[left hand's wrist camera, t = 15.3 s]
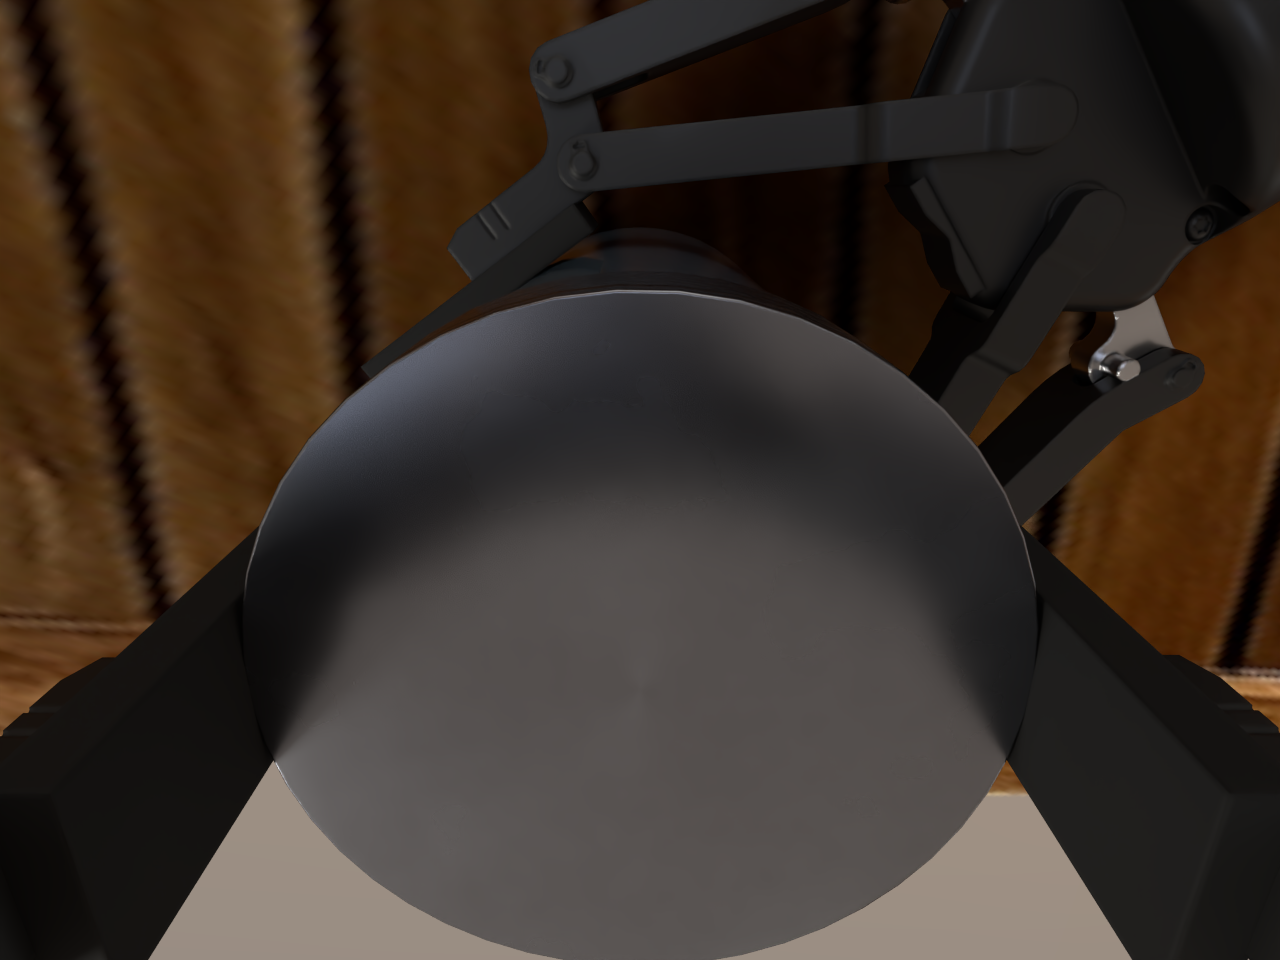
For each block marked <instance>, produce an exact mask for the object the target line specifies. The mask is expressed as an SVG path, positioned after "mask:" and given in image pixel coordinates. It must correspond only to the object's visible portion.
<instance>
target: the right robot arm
mask: <svg viewBox="0 0 1280 960" xmlns="http://www.w3.org/2000/svg"><path fill="white" fill-rule="evenodd" d="M848 1H850V0H649V1H647V2H644V3H642V4H639V5H637V6H634V7H632V8H629V9H627V10H624V11H622V12H619V13H617V14H614V15H612V16H609V17H607V18H604V19H602V20H599V21H597V22H594V23H592V24H589V25H587V26H584V27H582V28H579V29H577V30H574V31H572V32H569V33H567V34H564V35H562V36H559V37H557V38H554V39H552V40H549V41H547V42H545V43H544V44H542V45H541V46H540V47H538V48H537V50H536V51H535V53H534V54H533V56H532V57H531V62H530V68H529V72H530V78H531V82H532V84H533V86H534V88H535V89H536V93H537V96H538V100H539V103H540V107H541V110H542V113H543V117H544V120H545V124H546V128H547V134H548V142H547V148H546V151H545V154H544V156H543V158H542V159H541V161H540V162H539V163H538V164H537V165H536V166H535V167H534V168H533V169H532V170H531V171H529V172H528V173H527V174H526V175H524V176H523V177H522V178H520V179H519V180H518V181H517V182H515V183H514V184H513V185H512V186H510V187H509V188H508V189H507V190H505V191H504V192H503V193H502V194H500V195H499V196H498V197H496V198H495V199H494V200H493V201H491V202H490V203H489V204H488V205H486V206H485V207H484V208H483V209H481V210H480V211H479V212H478V213H477V214H475V215H474V216H472V217H471V218H470V219H469V220H467V221H466V222H465V223H464V224H462V225H461V226H460V227H459V228H457V230H456V232H455V234H454V236H453V238H452V239H451V241H450V243H449V245H448V247H447V249H448V251H449V252H450V253H451V255H452V256H453V257H454V258H455V260H456V261H457V262H458V264H459V265H460V266H461V268H462V269H463V270H464V271H465V273H466V274H467V275H468V277H469V278H470V279H471V281H472V282H471V283H469V284H468V285H467V286H465V287H464V288H463V289H462V290H460V291H459V292H458V293H456V294H455V295H454V296H452V297H451V298H450V299H449V300H447V301H446V302H445V303H443V304H442V305H441V306H439V307H438V308H437V309H436V310H434V311H433V312H432V313H430V314H429V315H428V316H426V317H425V318H424V319H423V320H421V321H420V322H419V323H417V324H416V325H415V326H414V327H412V328H411V329H410V330H408V331H407V332H406V333H404V334H403V335H402V336H401V337H399V338H398V339H397V340H395V341H394V342H393V343H391V344H390V345H389V346H388V347H386V348H385V349H384V350H382V351H381V352H380V353H378V354H377V355H376V356H375V357H373V358H372V359H371V360H369V361H368V362H367V363H365V364H364V365H363V366H362V367H361V368H362V369H363V370H364V371H365V372H366V374H367V375H368V376H369V377H370V378H372V377H373V376H374V375H376V374H377V373H378V372H379V371H381V370H382V369H383V368H384V367H386V366H387V365H388V364H389V363H391V362H392V361H393V360H395V359H396V358H398V357H399V356H400V355H401V354H403V353H404V352H405V351H407V350H408V349H409V348H411V347H412V346H413V345H415V344H416V343H417V342H419V341H420V340H421V339H423V338H424V337H425V336H427V335H428V334H430V333H431V332H433V331H435V330H436V329H438V328H440V327H442V326H443V325H445V324H447V323H448V322H450V321H452V320H454V319H455V318H457V317H459V316H460V315H462V314H464V313H465V312H467V311H469V310H471V309H473V308H475V307H478V306H480V305H483V304H485V303H487V302H490V301H492V300H495V299H497V298H499V297H502V296H504V295H507V294H509V293H512V292H514V291H515V290H517V289H518V288H519V287H521V286H522V285H523V284H525V283H526V282H527V281H529V280H530V279H531V278H533V277H534V276H535V275H536V274H538V273H539V272H540V271H542V270H543V269H544V268H546V267H547V266H548V265H550V264H551V263H552V262H554V261H555V260H556V259H558V258H559V257H560V256H562V255H563V254H564V253H566V252H567V251H568V250H570V249H571V248H572V247H574V246H575V245H576V244H578V243H579V242H580V241H582V240H583V239H584V238H585V237H587V236H588V235H589V234H591V233H592V232H593V231H594V230H595V229H596V228H597V226H598V223H597V222H596V220H595V219H594V217H593V216H592V215H591V213H590V212H589V210H588V209H587V207H586V206H585V204H584V203H583V202H582V201H583V200H584V199H586V198H587V197H588V196H590V195H591V194H592V193H593V192H595V191H601V190H611V189H621V188H631V187H640V186H650V185H660V184H670V183H680V182H690V181H700V180H709V179H719V178H729V177H739V176H749V175H759V174H769V173H778V172H788V171H798V170H808V169H818V168H828V167H837V166H847V165H857V164H868V163H879V162H888V174H889V180H890V182H889V183H887V184H886V185H884V186H885V188H886V190H887V192H888V193H889V195H890V197H891V199H892V201H893V202H894V204H895V206H896V208H897V210H898V211H899V212H900V213H901V214H902V215H903V216H904V217H905V218H906V219H907V220H908V221H909V222H910V223H911V224H912V225H913V226H914V227H915V228H916V229H917V230H918V231H919V232H920V234H921V237H922V242H923V246H924V250H925V255H926V259H927V263H928V265H929V267H930V269H931V270H932V272H933V274H934V276H935V278H936V279H937V281H938V283H939V285H940V287H942V288H944V289H947V290H950V291H951V292H950V294H949V295H948V297H947V299H946V300H945V302H944V304H943V305H942V307H941V309H940V311H939V312H938V314H937V316H936V318H935V320H934V322H933V326H932V336H931V339H930V341H929V343H928V345H927V346H926V348H925V350H924V352H923V353H922V355H921V357H920V358H919V360H918V362H917V363H916V365H915V367H914V368H913V370H912V372H911V373H910V375H909V378H910V379H911V380H913V381H914V382H915V383H916V384H917V385H918V386H919V387H921V388H922V389H923V390H924V391H925V392H926V393H928V394H929V395H930V396H931V397H932V398H933V399H935V400H936V401H937V402H938V403H939V404H940V405H941V406H943V407H944V408H945V409H946V410H947V412H948V413H949V414H950V415H951V416H952V417H953V419H954V420H955V421H956V422H957V423H958V425H959V426H960V427H961V428H962V429H963V430H964V432H965V433H966V434H967V435H968V436H969V435H970V433H971V432H972V430H973V429H974V427H975V426H976V424H977V423H978V421H979V419H980V418H981V416H982V415H983V413H984V412H985V410H986V409H987V407H988V405H989V404H990V402H991V401H992V399H993V398H994V396H995V395H996V393H997V391H998V390H999V388H1000V387H1001V385H1002V384H1003V382H1004V381H1005V380H1006V378H1007V377H1009V376H1010V375H1012V374H1014V373H1016V372H1019V371H1020V370H1021V369H1022V368H1024V367H1025V366H1026V364H1027V363H1028V362H1029V361H1030V359H1031V358H1032V356H1033V355H1034V353H1035V352H1036V350H1037V349H1038V347H1039V345H1040V344H1041V342H1042V341H1043V339H1044V338H1045V336H1046V335H1047V333H1048V332H1049V330H1050V328H1051V327H1052V325H1053V324H1054V322H1055V321H1056V319H1057V318H1058V316H1059V315H1060V313H1061V312H1062V311H1076V312H1096V322H1095V325H1094V327H1093V329H1092V331H1091V332H1090V333H1089V335H1088V336H1086V337H1085V338H1084V339H1083V340H1082V341H1078V342H1076V343H1074V344H1073V345H1072V346H1071V348H1070V350H1069V357H1070V358H1071V363H1070V364H1068V365H1067V366H1065V367H1064V368H1062V369H1060V370H1059V371H1057V372H1056V373H1055V374H1053V375H1052V376H1051V377H1049V378H1048V379H1047V380H1045V381H1044V382H1043V383H1042V384H1041V385H1040V386H1039V387H1038V388H1036V389H1035V390H1034V391H1033V392H1032V393H1031V394H1030V395H1029V396H1028V397H1027V398H1026V399H1025V400H1024V401H1023V402H1022V403H1021V404H1020V405H1019V406H1018V407H1017V408H1016V409H1015V410H1014V411H1013V412H1012V413H1011V414H1010V415H1009V416H1008V417H1007V418H1006V419H1005V420H1004V421H1003V422H1002V423H1001V424H1000V425H999V426H998V427H997V428H996V429H995V430H994V431H993V432H992V433H991V434H990V435H989V436H988V437H987V438H986V439H985V440H984V441H983V442H982V443H981V444H980V445H979V446H978V448H979V449H980V451H981V453H982V454H983V456H984V457H985V459H986V461H987V462H988V464H989V466H990V467H991V469H992V470H993V472H994V474H995V475H996V477H997V479H998V480H999V482H1000V483H1001V485H1002V487H1003V488H1004V490H1005V492H1006V494H1007V496H1008V499H1009V501H1010V504H1011V506H1012V508H1013V511H1014V513H1015V516H1016V518H1017V520H1018V523H1019V524H1020V525H1021V526H1022V525H1023V524H1024V523H1025V522H1026V521H1027V520H1028V519H1029V518H1030V517H1031V516H1033V515H1034V514H1035V513H1036V512H1037V511H1038V510H1039V509H1040V508H1041V507H1042V506H1043V505H1044V504H1045V503H1046V502H1047V501H1048V500H1050V499H1051V498H1052V497H1053V496H1054V495H1055V494H1056V493H1057V492H1058V491H1059V490H1060V489H1061V488H1062V487H1063V486H1064V485H1066V484H1067V483H1068V482H1069V481H1070V480H1071V479H1072V478H1073V477H1074V476H1075V475H1076V474H1077V473H1078V472H1079V471H1080V470H1081V469H1083V468H1084V467H1085V466H1086V465H1087V464H1088V463H1089V462H1090V461H1091V460H1092V459H1093V458H1094V457H1095V456H1096V455H1097V454H1099V453H1100V452H1101V451H1102V450H1103V449H1104V448H1105V447H1106V446H1107V445H1108V444H1109V443H1110V442H1111V441H1112V440H1113V439H1114V438H1116V437H1117V436H1118V435H1119V434H1120V433H1121V432H1122V431H1123V430H1125V429H1127V428H1129V427H1131V426H1133V425H1135V424H1137V423H1139V422H1141V421H1143V420H1145V419H1147V418H1148V417H1150V416H1152V415H1154V414H1156V413H1158V412H1160V411H1162V410H1164V409H1166V408H1168V407H1170V406H1172V405H1174V404H1176V403H1177V402H1179V401H1181V400H1183V399H1185V398H1187V397H1189V396H1190V395H1191V394H1193V393H1194V392H1195V391H1196V390H1197V389H1198V387H1199V386H1200V385H1201V383H1202V381H1203V378H1204V374H1205V372H1204V365H1203V363H1202V362H1201V360H1200V359H1199V358H1198V357H1196V356H1194V355H1192V354H1189V353H1186V352H1183V351H1180V350H1177V349H1175V348H1174V347H1173V346H1172V343H1171V341H1170V338H1169V335H1168V333H1167V330H1166V327H1165V324H1164V322H1163V319H1162V316H1161V314H1160V311H1159V308H1158V305H1157V303H1156V300H1155V297H1154V294H1155V293H1156V292H1157V291H1158V290H1159V289H1160V288H1161V287H1162V286H1163V284H1164V283H1165V281H1166V280H1167V278H1168V277H1169V275H1170V274H1171V272H1172V271H1173V270H1174V269H1175V267H1176V266H1177V265H1178V264H1179V263H1180V262H1181V260H1182V259H1183V258H1184V257H1185V256H1186V255H1187V254H1189V253H1190V252H1191V251H1192V250H1193V249H1194V248H1196V247H1197V246H1199V245H1201V244H1202V243H1204V242H1206V241H1208V240H1210V239H1212V238H1214V237H1216V236H1218V235H1220V234H1222V233H1224V232H1226V231H1228V230H1230V229H1232V228H1234V227H1236V226H1238V225H1240V224H1242V223H1244V222H1245V221H1247V220H1249V219H1251V218H1253V217H1254V216H1256V215H1258V214H1259V213H1261V212H1262V211H1264V210H1266V209H1267V208H1269V207H1270V206H1272V205H1274V204H1275V203H1277V202H1278V201H1280V0H943V2H944V3H945V4H946V5H947V6H948V8H949V9H948V11H947V13H946V15H945V17H944V19H943V22H942V24H941V27H940V29H939V31H938V34H937V36H936V39H935V41H934V43H933V46H932V48H931V50H930V53H929V55H928V58H927V60H926V62H925V65H924V67H923V70H922V72H921V74H920V77H919V79H918V81H917V84H916V86H915V89H914V91H913V93H912V96H911V98H910V99H904V100H894V101H885V102H878V103H871V104H865V105H858V106H849V107H840V108H830V109H821V110H811V111H801V112H792V113H782V114H772V115H763V116H753V117H744V118H734V119H724V120H715V121H705V122H696V123H686V124H676V125H667V126H657V127H648V128H638V129H628V130H619V131H609V132H604V129H603V125H602V121H601V117H600V114H599V110H598V106H597V102H596V101H598V100H601V99H603V98H606V97H609V96H611V95H614V94H616V93H619V92H621V91H624V90H627V89H629V88H632V87H634V86H637V85H639V84H642V83H645V82H647V81H650V80H652V79H655V78H658V77H660V76H663V75H665V74H668V73H670V72H673V71H676V70H678V69H681V68H683V67H686V66H689V65H691V64H694V63H696V62H699V61H701V60H704V59H707V58H709V57H712V56H714V55H717V54H720V53H722V52H725V51H727V50H730V49H732V48H735V47H738V46H740V45H743V44H745V43H748V42H750V41H753V40H756V39H758V38H761V37H763V36H766V35H769V34H771V33H774V32H776V31H779V30H781V29H784V28H787V27H789V26H792V25H794V24H797V23H800V22H802V21H805V20H807V19H810V18H812V17H815V16H818V15H820V14H823V13H825V12H828V11H830V10H832V9H834V8H836V7H839V6H841V5H843V4H845V3H847V2H848ZM886 1H888V2H890V3H894V4H903V3H907V2H909V1H911V0H886Z"/></svg>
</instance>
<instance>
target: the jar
mask: <svg viewBox="0 0 1280 960" xmlns="http://www.w3.org/2000/svg"><path fill="white" fill-rule="evenodd" d="M614 271H667V272H679V273H685V274H692V275H698V276H705V277H711V278H718V279H725V280H728V281H731V282H735V283H738V284H741V285H745V286H748V287H752V288H755V289H758V290H762V291H765V290H764V289H763V288H762V287H760V286H759V285H758V284H757V283H756V282H755V281H754V280H753V279H752V278H751V277H750V276H748V275H747V274H746V273H745V272H744V271H743V270H742V269H741V268H740V267H739V266H737V265H736V264H735V263H734V262H733V261H732V260H731V259H729V258H728V257H727V256H725V255H724V254H722V253H721V252H719V251H718V250H717V249H715V248H713V247H711V246H709V245H708V244H706V243H704V242H702V241H700V240H698V239H695V238H692V237H690V236H687V235H684V234H681V233H678V232H673V231H668V230H664V229H658V228H643V227H636V228H621V229H615V230H610V231H606V232H601V233H598V234H595V235H592V236H589V237H586V238H584V239H583V240H582V241H580V242H579V243H578V244H576V245H575V246H574V247H572V248H571V249H570V250H568V251H567V252H566V253H564V254H563V255H562V256H560V257H559V258H558V259H556V260H555V261H554V262H552V263H551V264H550V265H548V266H547V267H546V268H544V269H543V270H542V271H540V272H539V273H538V274H536V275H535V276H534V277H533V278H531V279H530V280H529V281H527V282H526V283H525V284H523V285H522V286H521V287H519V288H518V289H517V290H519V289H523V288H527V287H531V286H535V285H539V284H543V283H546V282H550V281H554V280H558V279H562V278H566V277H571V276H580V275H588V274H597V273H605V272H614ZM515 291H516V290H515ZM765 292H766V291H765Z"/></svg>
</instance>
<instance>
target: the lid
mask: <svg viewBox="0 0 1280 960" xmlns="http://www.w3.org/2000/svg"><path fill="white" fill-rule="evenodd" d="M241 623H242V647H243V661H244V666H245V670H246V675H247V680H248V684H249V689H250V694H251V698H252V703H253V708H254V712H255V715H256V719H257V722H258V725H259V728H260V730H261V733H262V736H263V739H264V742H265V744H266V747H267V749H268V751H269V753H270V755H271V756H272V758H273V760H274V762H275V764H276V766H277V768H278V770H279V772H280V774H281V775H282V777H283V779H284V781H285V783H286V785H287V786H288V788H289V789H290V791H291V792H292V793H293V795H294V796H295V798H296V799H297V800H298V802H299V803H300V805H301V806H302V807H303V809H304V810H305V812H306V813H307V815H308V816H309V817H310V819H311V820H312V821H313V822H314V823H315V824H316V825H317V827H318V828H319V829H320V830H321V831H322V832H323V833H324V834H325V835H326V836H327V837H328V839H329V840H330V841H331V842H332V843H333V844H334V845H335V846H336V847H337V848H338V849H339V850H340V852H342V853H343V854H344V855H345V856H346V857H347V858H349V859H350V860H351V861H352V862H353V863H354V864H356V865H357V866H358V867H359V868H360V869H361V870H363V871H364V872H365V873H366V874H367V875H368V876H370V877H371V878H372V879H373V880H375V881H376V882H378V883H379V884H380V885H382V886H383V887H385V888H386V889H388V890H389V891H391V892H392V893H394V894H395V895H397V896H398V897H400V898H401V899H402V900H404V901H405V902H407V903H408V904H410V905H412V906H414V907H416V908H418V909H420V910H421V911H423V912H425V913H427V914H429V915H431V916H433V917H435V918H436V919H438V920H440V921H442V922H444V923H446V924H448V925H451V926H453V927H455V928H458V929H460V930H463V931H465V932H468V933H470V934H473V935H475V936H477V937H480V938H482V939H485V940H488V941H491V942H494V943H497V944H501V945H504V946H507V947H511V948H514V949H518V950H521V951H524V952H527V953H532V954H537V955H543V956H547V957H553V958H558V959H563V960H715V959H721V958H727V957H732V956H738V955H743V954H747V953H750V952H754V951H758V950H761V949H765V948H768V947H772V946H776V945H779V944H783V943H786V942H788V941H791V940H794V939H796V938H799V937H801V936H804V935H807V934H809V933H812V932H814V931H817V930H820V929H822V928H825V927H827V926H828V925H831V924H832V923H834V922H836V921H838V920H840V919H842V918H844V917H846V916H848V915H850V914H852V913H854V912H856V911H858V910H860V909H862V908H864V907H865V906H867V905H869V904H870V903H872V902H873V901H875V900H876V899H878V898H879V897H881V896H882V895H884V894H886V893H887V892H889V891H890V890H892V889H893V888H895V887H896V886H898V885H899V884H901V883H902V882H903V881H904V880H905V879H907V878H908V877H909V876H910V875H912V874H913V873H914V872H915V871H917V870H918V869H919V868H920V867H921V866H923V865H924V864H925V863H926V862H928V861H929V860H930V859H931V858H932V857H933V856H934V855H935V854H936V853H937V852H938V851H939V850H940V849H941V848H942V847H943V846H944V845H945V844H946V843H947V842H948V841H949V840H950V839H951V838H952V837H953V836H954V835H955V834H956V833H957V832H958V831H959V830H960V829H961V828H962V826H963V825H964V824H965V822H966V821H967V820H968V818H969V817H970V816H971V814H972V813H973V812H974V811H975V809H976V808H977V807H978V805H979V804H980V803H981V801H982V800H983V799H984V797H985V796H986V795H987V793H988V792H989V790H990V788H991V786H992V785H993V783H994V781H995V779H996V778H997V776H998V774H999V772H1000V771H1001V769H1002V767H1003V765H1004V764H1005V762H1006V760H1007V758H1008V757H1009V754H1010V752H1011V749H1012V747H1013V744H1014V742H1015V739H1016V737H1017V734H1018V732H1019V729H1020V727H1021V724H1022V722H1023V719H1024V715H1025V710H1026V706H1027V701H1028V697H1029V692H1030V688H1031V684H1032V679H1033V675H1034V669H1035V664H1036V655H1037V643H1038V631H1039V627H1038V614H1037V601H1036V587H1035V580H1034V576H1033V571H1032V567H1031V563H1030V559H1029V555H1028V550H1027V546H1026V542H1025V538H1024V535H1023V532H1022V530H1021V528H1020V525H1019V523H1018V520H1017V518H1016V516H1015V513H1014V511H1013V508H1012V506H1011V504H1010V501H1009V499H1008V496H1007V494H1006V492H1005V490H1004V488H1003V487H1002V485H1001V483H1000V482H999V480H998V479H997V477H996V475H995V474H994V472H993V470H992V469H991V467H990V466H989V464H988V462H987V461H986V459H985V457H984V456H983V454H982V453H981V451H980V449H979V448H978V447H977V446H976V444H975V443H974V442H973V441H972V440H971V439H970V437H969V436H968V435H967V434H966V433H965V432H964V430H963V429H962V428H961V427H960V426H959V425H958V423H957V422H956V421H955V420H954V419H953V417H952V416H951V415H950V414H949V413H948V412H947V410H946V409H945V408H944V407H943V406H941V405H940V404H939V403H938V402H937V401H936V400H935V399H933V398H932V397H931V396H930V395H929V394H928V393H926V392H925V391H924V390H923V389H922V388H921V387H919V386H918V385H917V384H916V383H915V382H914V381H913V380H911V379H910V378H909V377H908V376H907V375H906V374H904V373H903V372H902V371H901V370H899V369H898V368H897V367H895V366H894V365H893V364H891V363H890V362H889V361H887V360H886V359H885V358H883V357H882V356H880V355H879V354H878V353H876V352H875V351H874V350H872V349H871V348H870V347H868V346H867V345H866V344H864V343H863V342H862V341H860V340H859V339H857V338H855V337H854V336H852V335H851V334H849V333H848V332H846V331H844V330H843V329H841V328H840V327H838V326H837V325H835V324H833V323H832V322H830V321H829V320H827V319H826V318H824V317H822V316H821V315H819V314H817V313H815V312H812V311H810V310H808V309H806V308H803V307H801V306H799V305H797V304H795V303H792V302H790V301H788V300H786V299H784V298H781V297H779V296H777V295H775V294H772V293H768V292H765V291H762V290H758V289H755V288H752V287H748V286H745V285H741V284H738V283H735V282H731V281H728V280H725V279H718V278H711V277H705V276H698V275H692V274H685V273H679V272H667V271H614V272H605V273H597V274H588V275H580V276H571V277H566V278H562V279H558V280H554V281H550V282H546V283H543V284H539V285H535V286H531V287H527V288H523V289H519V290H516V291H514V292H512V293H509V294H507V295H504V296H502V297H499V298H497V299H495V300H492V301H490V302H487V303H485V304H483V305H480V306H478V307H475V308H473V309H471V310H469V311H467V312H465V313H464V314H462V315H460V316H459V317H457V318H455V319H454V320H452V321H450V322H448V323H447V324H445V325H443V326H442V327H440V328H438V329H436V330H435V331H433V332H431V333H430V334H428V335H427V336H425V337H424V338H423V339H421V340H420V341H419V342H417V343H416V344H415V345H413V346H412V347H411V348H409V349H408V350H407V351H405V352H404V353H403V354H401V355H400V356H399V357H398V358H396V359H395V360H393V361H392V362H391V363H389V364H388V365H387V366H386V367H384V368H383V369H382V370H381V371H379V372H378V373H377V374H376V375H374V376H373V377H372V378H371V379H369V380H368V381H367V382H366V383H364V384H363V385H362V386H361V387H359V388H358V389H357V390H356V391H354V392H353V393H352V394H351V395H349V396H348V397H347V398H346V399H345V400H344V401H343V402H342V403H341V404H340V405H339V406H338V407H337V408H336V409H335V411H334V412H333V413H332V414H331V415H330V416H329V417H328V418H327V419H326V420H325V421H324V422H323V424H322V425H321V426H320V427H319V428H318V429H317V430H316V431H315V432H314V433H313V434H312V435H311V436H310V438H309V439H308V440H307V442H306V443H305V445H304V446H303V448H302V449H301V451H300V452H299V454H298V455H297V457H296V458H295V460H294V461H293V463H292V464H291V466H290V467H289V469H288V470H287V472H286V473H285V475H284V476H283V477H282V479H281V480H280V482H279V485H278V487H277V489H276V491H275V493H274V495H273V498H272V500H271V502H270V504H269V506H268V508H267V510H266V513H265V515H264V517H263V519H262V521H261V523H260V526H259V529H258V533H257V536H256V540H255V543H254V547H253V550H252V554H251V558H250V561H249V565H248V568H247V573H246V581H245V590H244V599H243V607H242V616H241Z"/></svg>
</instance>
